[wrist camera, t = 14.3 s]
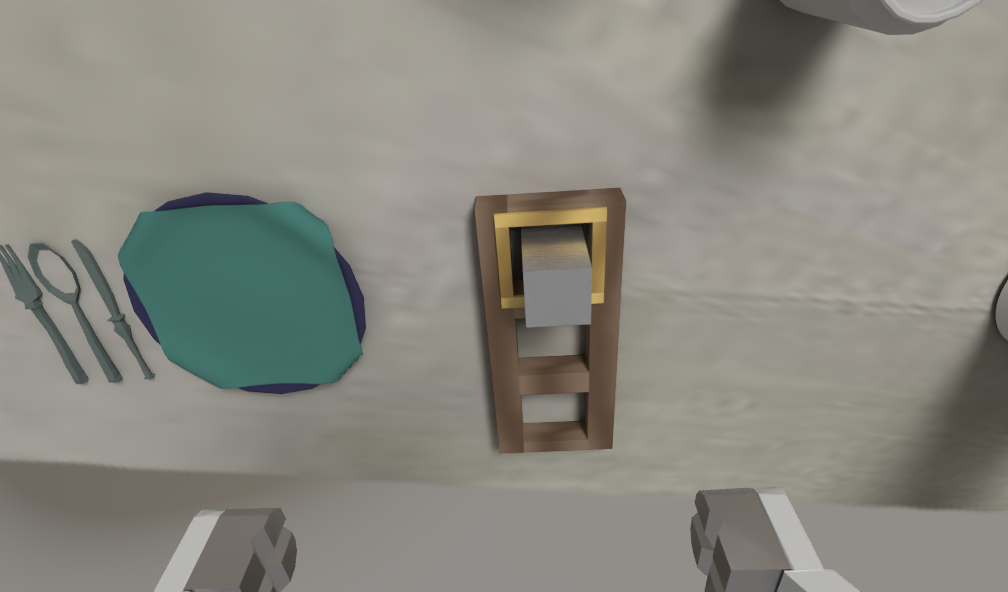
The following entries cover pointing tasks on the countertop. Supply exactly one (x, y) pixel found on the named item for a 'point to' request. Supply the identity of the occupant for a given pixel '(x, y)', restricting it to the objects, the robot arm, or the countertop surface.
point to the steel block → (556, 275)
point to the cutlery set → (223, 294)
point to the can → (885, 13)
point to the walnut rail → (509, 304)
